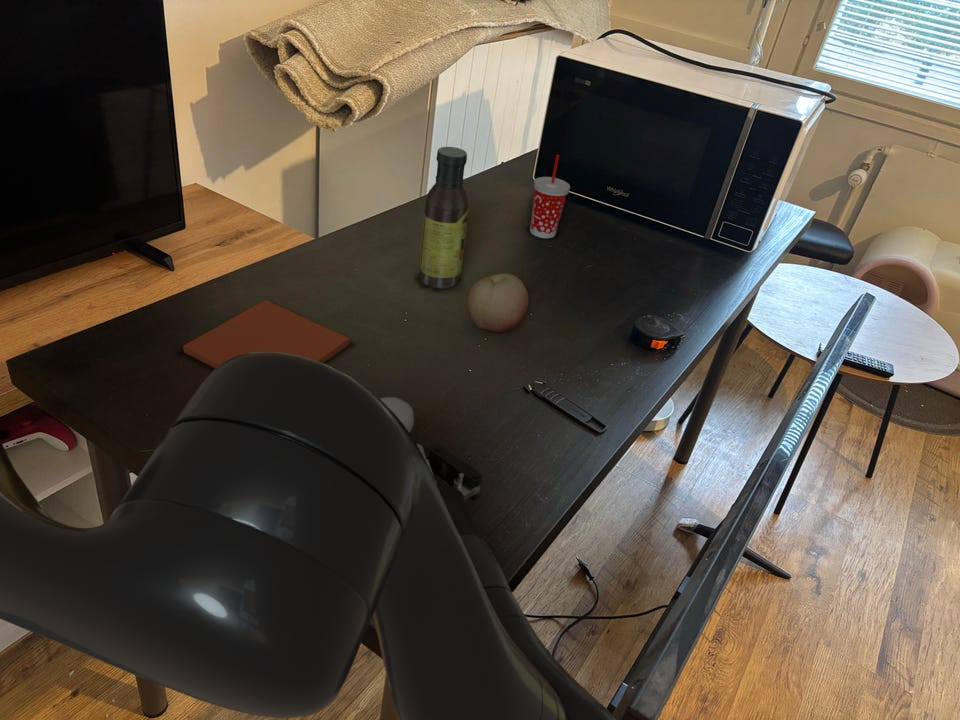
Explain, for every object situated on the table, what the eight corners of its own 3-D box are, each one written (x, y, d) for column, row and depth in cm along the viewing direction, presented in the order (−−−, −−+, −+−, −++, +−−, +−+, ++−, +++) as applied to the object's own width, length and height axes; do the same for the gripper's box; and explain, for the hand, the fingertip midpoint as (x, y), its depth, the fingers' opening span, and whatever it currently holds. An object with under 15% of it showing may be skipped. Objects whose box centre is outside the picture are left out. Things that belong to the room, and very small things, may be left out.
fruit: (485, 305, 106) (492, 256, 102) (532, 327, 103) (542, 277, 99) (453, 327, 101) (460, 276, 96) (502, 351, 98) (512, 299, 93)
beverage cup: (525, 222, 131) (539, 146, 123) (559, 227, 132) (575, 151, 124) (525, 237, 126) (540, 159, 118) (560, 242, 127) (577, 164, 119)
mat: (273, 398, 84) (272, 391, 83) (183, 352, 89) (182, 345, 88) (349, 344, 94) (349, 338, 94) (265, 305, 99) (265, 299, 98)
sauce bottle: (464, 290, 109) (482, 161, 98) (424, 292, 107) (437, 160, 96) (452, 269, 114) (468, 143, 103) (413, 270, 112) (424, 142, 101)
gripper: (533, 517, 59) (448, 388, 71) (365, 564, 53) (303, 415, 65) (518, 577, 63) (440, 446, 76) (361, 626, 58) (304, 476, 70)
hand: (377, 432), depth 70 cm, fingers closed on salt shaker, 3 cm apart
